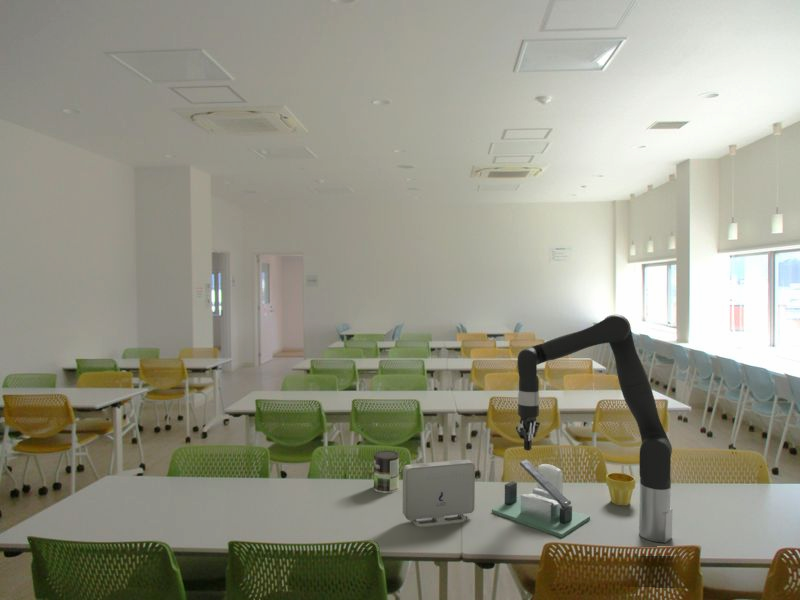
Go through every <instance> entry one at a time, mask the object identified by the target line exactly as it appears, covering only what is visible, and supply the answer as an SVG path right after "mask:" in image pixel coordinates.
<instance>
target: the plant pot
mask: <svg viewBox="0 0 800 600" xmlns="http://www.w3.org/2000/svg"><path fill="white" fill-rule="evenodd" d="M605 483H606V486H607V487H608V490H609V497H610V501H611V503H612V504H614V505H618V506H628V505H630V504H631V500H632V499H631V498H632V496H633V492H634V491H633V490H634V489H635V488H636V478H635V477H634V476H633V475H631V474H628V473H623V472H622V473H621V472H610V473H607V474H606V475H605Z"/></svg>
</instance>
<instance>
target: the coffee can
mask: <svg viewBox="0 0 800 600" xmlns="http://www.w3.org/2000/svg"><path fill="white" fill-rule="evenodd" d="M399 459H400V454H399V453H398V452H397V451H394V450H378V451H376V452H374V453H373V490H374V491H375V492H377V493H380V494H391V493H396V492H398V490H399V480H400V479H399V475H400V473H399V472H400V471H399V470H400V469H399V466H400V465H399V464H400V463H399V462H400V460H399Z"/></svg>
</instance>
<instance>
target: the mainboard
mask: <svg viewBox="0 0 800 600" xmlns="http://www.w3.org/2000/svg"><path fill="white" fill-rule="evenodd" d="M521 495H522V494H520V495H517V502H515V503H513V504H511V505H506V504H505V502H504V503H501V504H500V505H498V506H495V507H494V508H492V509H491V514H494V515H497V516H500V517H503V518H506V519H508V520H511V521H513V522H517V523H519V524H522V525H525V526H528V527H530V528H534V529H537V530H539V531H542V532H545V533H547V534H551V535H553V536H555V537H559V538H564V537H565V536H567V535H569V534H570V533H571V532H573V531H575V530H576V529H578V528H579V527H581V526H582V525H584V524H585V523H587V522H588V521H590V520H591V516H590V515H588V514H585V513H582V512H581V513H580V512H578V511H575V510H572V520H571V521H570V522H568V523H566V524H562V523H560V518H558V519H557V520H555V521H553V522H551V523H549V522H546V521H543V520H540V519H537V518H535V517H532V516H529V515H526V514H523V513H521Z"/></svg>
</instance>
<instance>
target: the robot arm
mask: <svg viewBox="0 0 800 600" xmlns="http://www.w3.org/2000/svg"><path fill="white" fill-rule="evenodd" d="M603 344H609V346H610V349H611V351H612V353H613V357H614V360H615V361H614V362H615V368H616V374H617V375H616V376H617V378H618V384H619V387H620V391H621V394H622V396H623V399H624V401H625V403H626V405H627V407H628V409H629V411H630V413H631V414H632V416H633V418H634V419H635V422H636V424H637V427H638V431H639V434H640V435H639V436H640V438H641V445H640V448H639V463H638V464H639V514H638V515H639V519H638V520H639V521H638V523H639V524H638V529H639V530H638V533H639V535H640V536H641V538H643V539H644V540H647V541H651V542H656V543H658V542H659V543H663V544H666V543H667V542H668V541H670V540H671V538H672V537H673V509H672V508H671V496H672V495H671V490H672V486H671V485H672V478H671V465H672V464H671V462H672V461H671V459H672V453H673V447H672V444H671V441H670V439H669V438H668V435H667V432H666V431H665V429H664V427H663V424H662V422H661V419H660V416H659V413H658V407H657V404H656V401H655V396H654V393H653V389H652V387H651V384H650V380H649V378H648V376H647V375H648V374H647V373H646V370H645V368H644V365H643V364H642V361H641V359H640V357H639V355H638V353H637V350H636V345H635V342H634V338H633V333H632V326H631V323H630V321H629V320H628V319H627V318H626V317H625V316H624V315H622V314H618V313H617V314H609V316H606V317H605V318H604V319H603V320H601V321H599V322H597V323H596V324H594V325H591V326H589V327H587V328H584V329H581V330H579V331H578V330H577V331H575V332H572V333H567V334H564V335H560V336H558V337H555V338H553V339H549V340H547V341H545V342H544V343H540V344H536V345H532V346H529V347H526V348H524V349H522V350H521V351H520V352H519V353H518V355H517V372H518V378H519V379H518V394H517V395H518V396H517V415H518V416H520V420H519V426H516V427H515V430H516V433H517V434H518V436H519V438H520V439H521V440H523V450H524V451H529V452H530V451H531V450H532V440H533V439H534V438H535V437H536V435H537V433H538V430H539V427H540V425H541V422H540V421H537V418H538V417H539V415H540V395H539V393H540V392H539V386H540V384H539V383H540V379H539V377H538V375H537V374H538V372H537V371H538V370H537V367H538V366H537V365H540V364H542V363H545V362H548V361H554V360H558V359H561V358H564V357H567V356H569V355H572V354H575V353H578V352H579V351H582V350H584V349H585V350H586V349H587V348H591V347H594V346H598V345H603Z"/></svg>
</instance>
